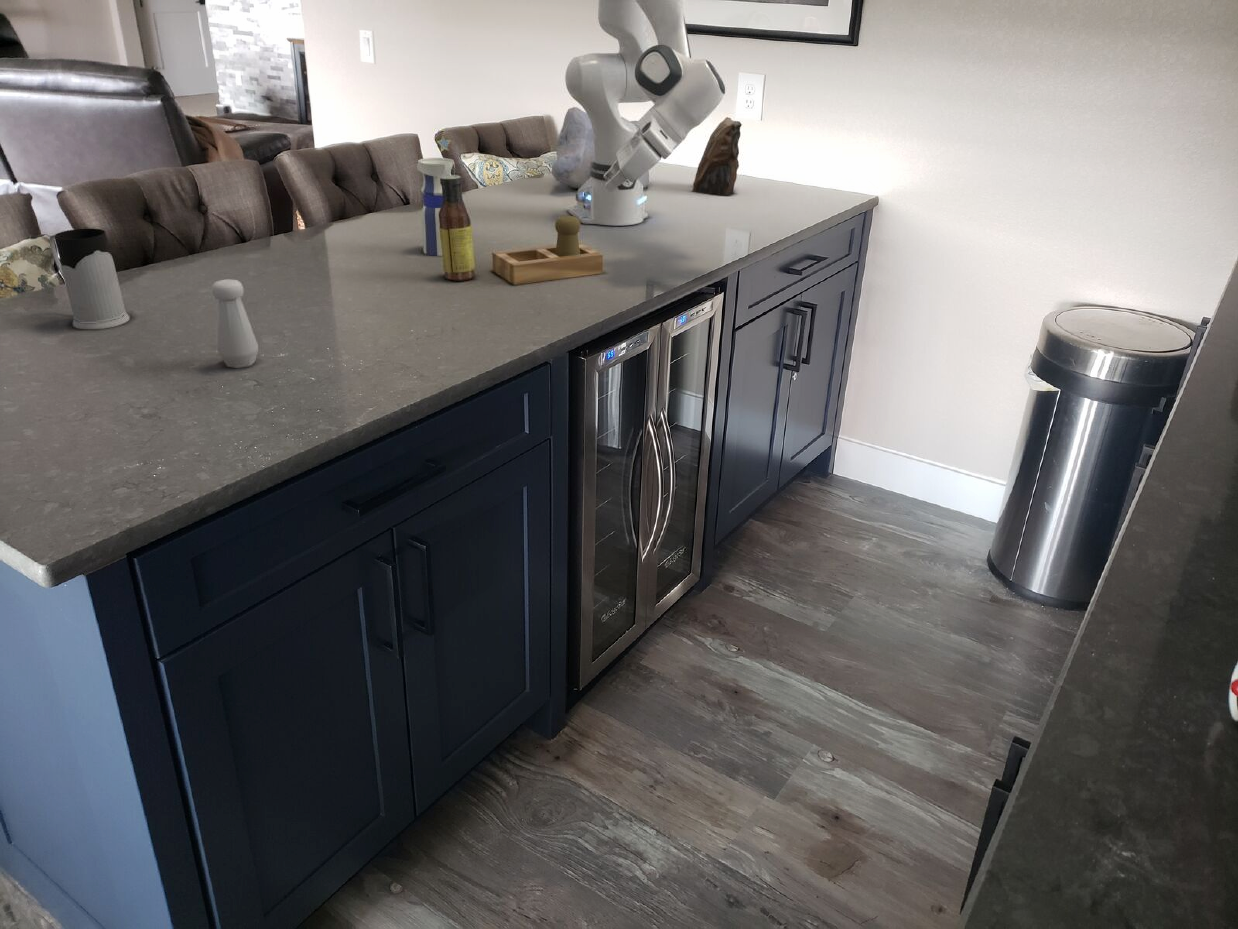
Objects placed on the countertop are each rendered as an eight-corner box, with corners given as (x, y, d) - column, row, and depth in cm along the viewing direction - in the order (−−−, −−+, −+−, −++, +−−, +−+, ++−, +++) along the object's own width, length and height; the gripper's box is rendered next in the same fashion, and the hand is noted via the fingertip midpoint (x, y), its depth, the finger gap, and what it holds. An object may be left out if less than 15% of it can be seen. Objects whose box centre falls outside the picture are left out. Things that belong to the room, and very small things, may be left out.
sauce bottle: (480, 275, 190) (475, 175, 180) (466, 283, 184) (460, 180, 175) (451, 271, 191) (445, 172, 182) (436, 279, 186) (429, 177, 177)
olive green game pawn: (578, 274, 192) (578, 220, 187) (550, 272, 193) (549, 218, 188) (585, 266, 197) (585, 214, 192) (557, 264, 198) (557, 212, 193)
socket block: (492, 271, 193) (492, 251, 191) (578, 260, 201) (578, 242, 200) (514, 285, 184) (513, 265, 182) (602, 273, 193) (603, 254, 191)
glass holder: (91, 332, 154) (69, 243, 147) (44, 316, 161) (20, 230, 154) (140, 319, 161) (120, 232, 154) (92, 304, 167) (71, 220, 161)
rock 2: (718, 185, 280) (723, 115, 270) (751, 192, 272) (757, 120, 262) (690, 190, 272) (694, 118, 262) (723, 198, 264) (728, 123, 255)
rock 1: (547, 210, 266) (547, 155, 283) (650, 220, 271) (644, 166, 287) (556, 140, 248) (555, 86, 265) (665, 153, 253) (658, 98, 270)
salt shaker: (227, 356, 146) (212, 275, 140) (264, 356, 147) (251, 275, 141) (216, 370, 141) (200, 286, 135) (254, 369, 142) (240, 286, 136)
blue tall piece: (468, 249, 208) (462, 131, 196) (446, 257, 201) (439, 136, 189) (438, 244, 211) (430, 128, 199) (415, 252, 204) (406, 133, 192)
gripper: (642, 115, 191) (594, 163, 195) (649, 129, 173) (596, 182, 177) (663, 138, 193) (615, 185, 197) (672, 154, 175) (619, 206, 179)
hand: (606, 184), depth 187 cm, fingers open, 8 cm apart
